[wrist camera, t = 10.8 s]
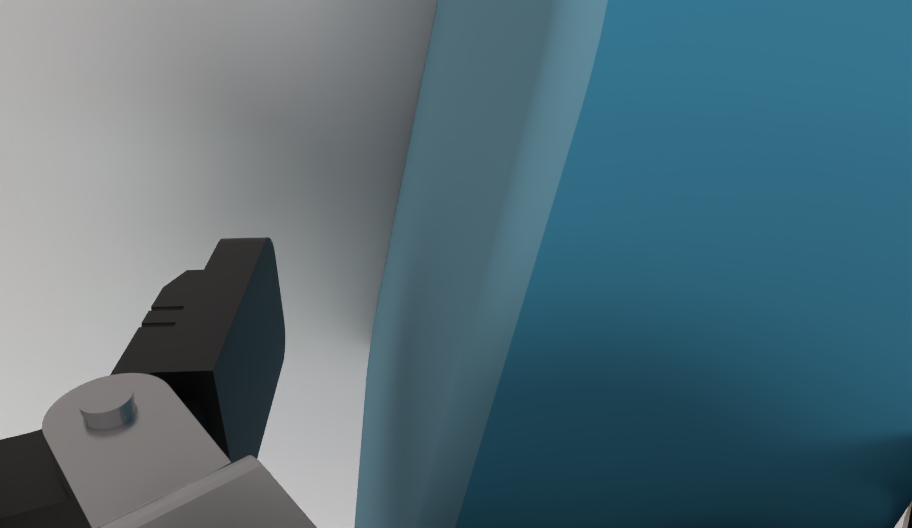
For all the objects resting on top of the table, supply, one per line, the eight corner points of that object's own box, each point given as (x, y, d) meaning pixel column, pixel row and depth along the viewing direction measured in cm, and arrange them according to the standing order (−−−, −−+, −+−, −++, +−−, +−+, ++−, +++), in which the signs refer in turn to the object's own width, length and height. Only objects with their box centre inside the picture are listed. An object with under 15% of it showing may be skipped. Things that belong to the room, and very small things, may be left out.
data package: (529, 372, 21) (657, 900, 10) (367, 348, 20) (323, 886, 9) (680, -97, 15) (1288, -22, 5) (466, -152, 15) (620, -203, 4)
